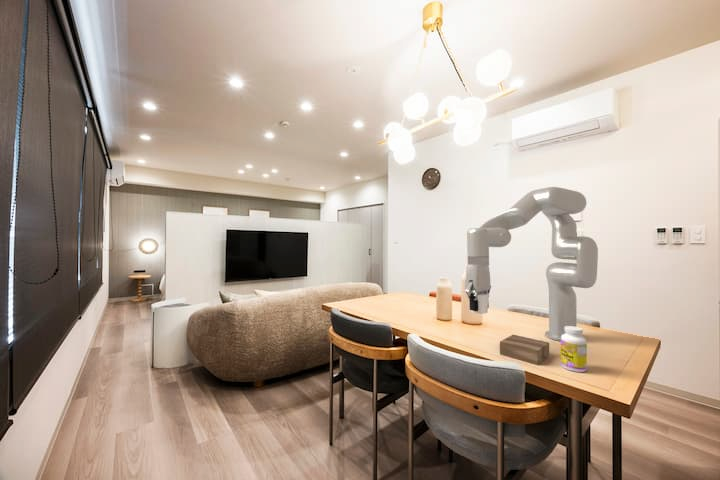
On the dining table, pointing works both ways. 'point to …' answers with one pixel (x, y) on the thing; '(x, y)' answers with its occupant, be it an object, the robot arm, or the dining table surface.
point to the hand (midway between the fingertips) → (479, 308)
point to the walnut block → (524, 349)
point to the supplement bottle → (573, 349)
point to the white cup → (482, 303)
